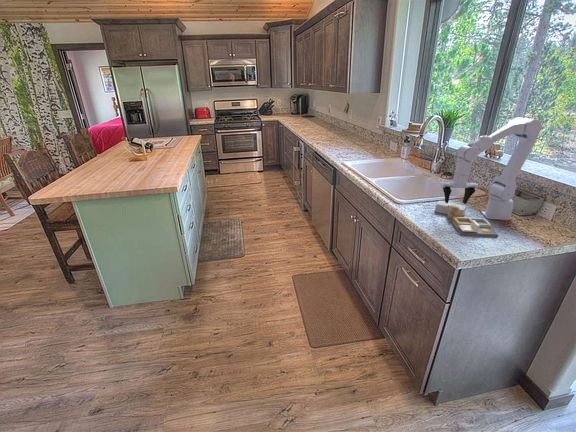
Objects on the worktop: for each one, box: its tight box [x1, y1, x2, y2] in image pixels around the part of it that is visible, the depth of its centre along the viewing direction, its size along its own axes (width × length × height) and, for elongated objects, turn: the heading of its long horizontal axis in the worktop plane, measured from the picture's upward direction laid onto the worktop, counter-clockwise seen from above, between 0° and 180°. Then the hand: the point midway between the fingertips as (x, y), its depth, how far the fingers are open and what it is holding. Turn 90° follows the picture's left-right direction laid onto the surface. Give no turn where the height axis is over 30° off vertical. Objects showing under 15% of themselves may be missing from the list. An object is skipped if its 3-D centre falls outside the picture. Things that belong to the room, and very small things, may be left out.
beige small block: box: [446, 205, 459, 221], centre depth 139 cm, size 4×4×6 cm
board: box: [449, 216, 499, 238], centre depth 130 cm, size 14×14×2 cm
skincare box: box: [434, 200, 467, 217], centre depth 145 cm, size 6×4×12 cm
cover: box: [458, 220, 480, 232], centre depth 126 cm, size 6×5×3 cm
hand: (455, 202), depth 137 cm, fingers open, 7 cm apart
